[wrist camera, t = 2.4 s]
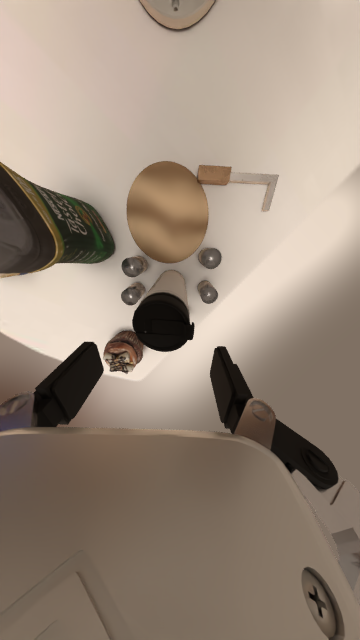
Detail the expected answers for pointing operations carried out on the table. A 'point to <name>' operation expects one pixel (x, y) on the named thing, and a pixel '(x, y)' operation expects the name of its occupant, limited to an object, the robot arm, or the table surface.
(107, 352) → the cupcake
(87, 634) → the robot arm
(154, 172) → the round wooden board
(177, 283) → the travel mug
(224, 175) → the hook tool
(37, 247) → the coffee jar
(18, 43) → the table surface
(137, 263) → the spacer field
